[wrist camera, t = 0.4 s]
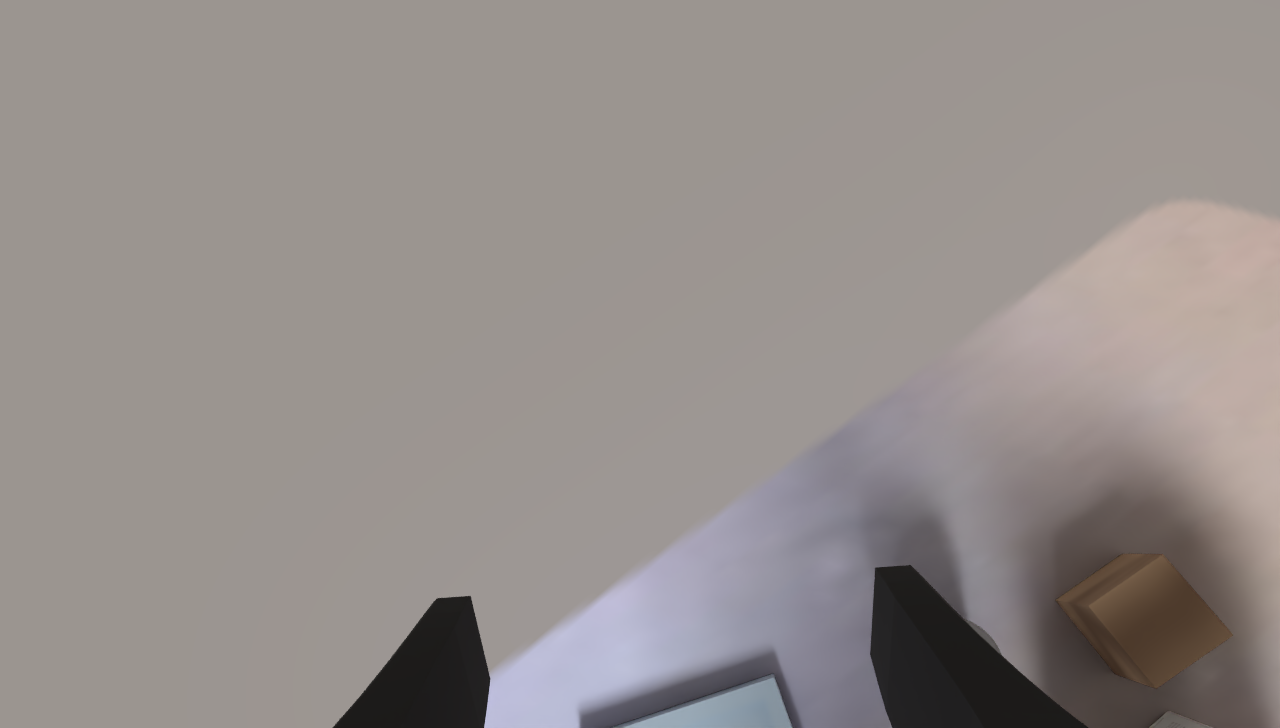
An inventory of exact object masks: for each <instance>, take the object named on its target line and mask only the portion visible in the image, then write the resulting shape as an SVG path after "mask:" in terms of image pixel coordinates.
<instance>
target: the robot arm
mask: <svg viewBox="0 0 1280 728" xmlns="http://www.w3.org/2000/svg"><path fill="white" fill-rule="evenodd" d="M870 655H871V659H872V662H873V666H874V670H875V673H876V677H877V681H878V685H879V688H880V692H881V695H882V699H883V702H884V705H885V709H886V712H887V715H888V717H889V720H890V722H891V725H892V727H893V728H1088V727H1087V726H1085V725H1084V724H1083V723H1081V722H1080V721H1079V720H1077V719H1076V718H1075V717H1073V716H1072V715H1071V714H1069V713H1068V712H1067V711H1066V710H1064V709H1063V708H1062V707H1061V706H1060V705H1058V704H1057V703H1056V702H1055V701H1053V700H1052V699H1051V698H1050V697H1049V696H1047V695H1046V694H1045V693H1044V692H1043V691H1041V690H1040V689H1039V688H1038V687H1037V686H1036V685H1034V684H1033V683H1032V682H1031V681H1030V680H1029V679H1027V678H1026V677H1025V676H1024V675H1023V674H1022V673H1021V672H1019V671H1018V670H1017V669H1016V668H1015V667H1014V666H1013V665H1012V664H1010V663H1009V662H1008V661H1007V660H1006V659H1005V658H1004V657H1003V656H1002V655H1001V654H1000V653H999V652H998V651H996V650H995V649H994V648H993V647H992V646H991V645H990V644H989V643H988V642H987V641H986V640H985V639H984V638H983V637H982V636H980V635H979V634H978V633H977V632H976V631H975V630H974V629H973V628H972V627H971V626H970V625H969V624H968V623H967V622H966V621H965V620H964V619H963V618H962V617H961V616H960V615H959V614H958V613H957V612H956V611H955V610H954V609H953V608H952V607H951V606H950V605H949V604H948V603H947V602H946V601H945V600H944V599H943V598H942V597H941V596H940V595H939V594H938V593H937V591H936V590H935V589H934V588H933V587H932V586H931V585H930V584H929V583H928V582H927V581H926V580H925V579H924V578H923V577H922V576H921V575H920V574H919V573H918V572H917V571H916V570H915V569H914V568H913V567H912V566H911V565H908V566H894V567H879V568H875V582H874V600H873V617H872V635H871V652H870ZM489 686H490V676H489V672H488V668H487V663H486V659H485V655H484V651H483V646H482V642H481V638H480V634H479V630H478V626H477V621H476V617H475V613H474V609H473V604H472V600H471V596H465V597H451V598H438V599H436V600H435V601H434V602H433V604H432V605H431V606H430V607H429V609H428V610H427V611H426V613H425V614H424V615H423V617H422V618H421V619H420V620H419V622H418V623H417V624H416V626H415V627H414V628H413V630H412V631H411V633H410V634H409V635H408V636H407V638H406V639H405V640H404V642H403V643H402V644H401V646H400V647H399V648H398V650H397V651H396V652H395V654H394V655H393V656H392V657H391V659H390V660H389V661H388V662H387V664H386V665H385V666H384V667H383V669H382V670H381V671H380V672H379V674H378V675H377V676H376V677H375V679H374V680H373V681H372V682H371V684H370V685H369V686H368V687H367V689H366V690H365V691H364V692H363V693H362V695H361V696H360V697H359V698H358V699H357V701H356V702H355V703H354V704H353V705H352V706H351V707H350V709H349V710H348V711H347V712H346V713H345V714H344V715H343V717H342V718H341V719H340V720H339V721H338V722H337V724H335V726H334V727H333V728H484V724H485V717H486V710H487V702H488V694H489Z"/></svg>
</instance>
